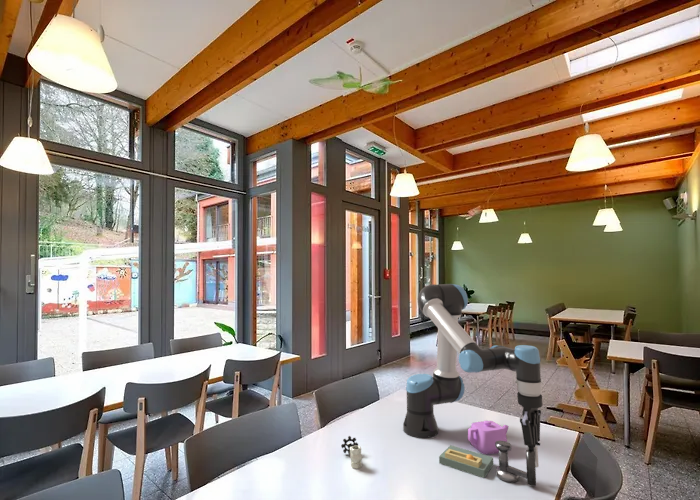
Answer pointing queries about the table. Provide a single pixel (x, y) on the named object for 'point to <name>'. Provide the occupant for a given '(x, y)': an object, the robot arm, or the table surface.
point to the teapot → (486, 436)
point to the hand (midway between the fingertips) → (533, 465)
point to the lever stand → (466, 461)
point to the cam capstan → (510, 472)
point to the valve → (353, 452)
